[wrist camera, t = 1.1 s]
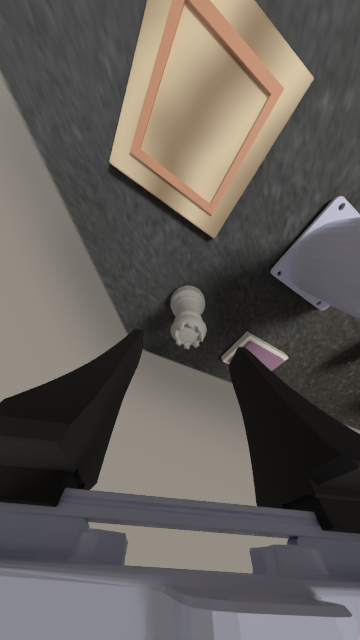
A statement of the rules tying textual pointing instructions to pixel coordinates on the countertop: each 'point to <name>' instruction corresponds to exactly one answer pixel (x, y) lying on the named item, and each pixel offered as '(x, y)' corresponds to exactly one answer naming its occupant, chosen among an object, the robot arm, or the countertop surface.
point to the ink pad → (257, 351)
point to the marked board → (205, 104)
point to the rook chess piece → (188, 316)
